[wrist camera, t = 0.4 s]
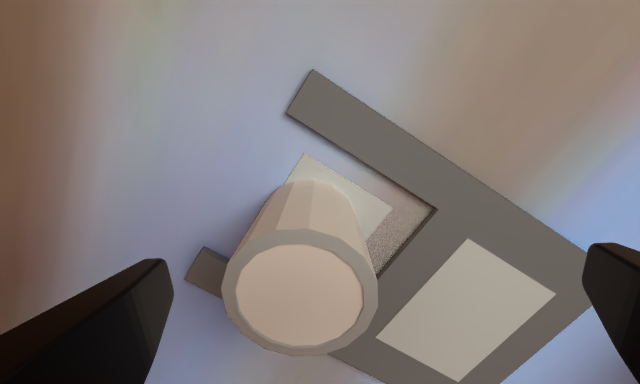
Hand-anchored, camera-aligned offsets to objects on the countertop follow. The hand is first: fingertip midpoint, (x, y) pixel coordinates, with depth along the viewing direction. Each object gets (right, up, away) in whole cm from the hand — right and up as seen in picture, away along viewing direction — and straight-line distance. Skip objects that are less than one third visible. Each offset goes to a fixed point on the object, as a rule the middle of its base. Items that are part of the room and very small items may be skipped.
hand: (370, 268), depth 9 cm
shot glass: (-2, 0, +15) cm, 15 cm away
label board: (+4, -4, +16) cm, 17 cm away
